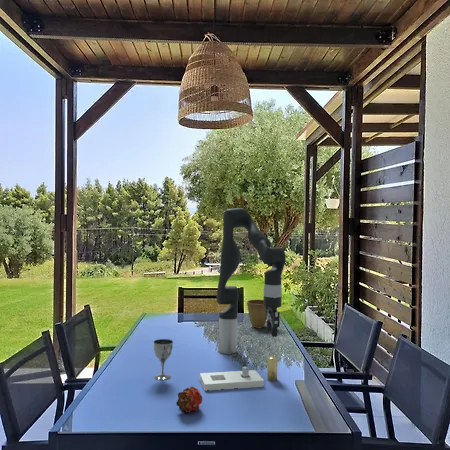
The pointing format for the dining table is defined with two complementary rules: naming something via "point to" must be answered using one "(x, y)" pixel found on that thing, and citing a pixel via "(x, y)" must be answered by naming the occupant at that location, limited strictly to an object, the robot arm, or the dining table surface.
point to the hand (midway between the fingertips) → (271, 333)
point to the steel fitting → (245, 372)
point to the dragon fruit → (189, 399)
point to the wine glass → (163, 355)
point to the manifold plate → (230, 380)
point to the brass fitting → (272, 368)
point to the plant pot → (257, 312)
